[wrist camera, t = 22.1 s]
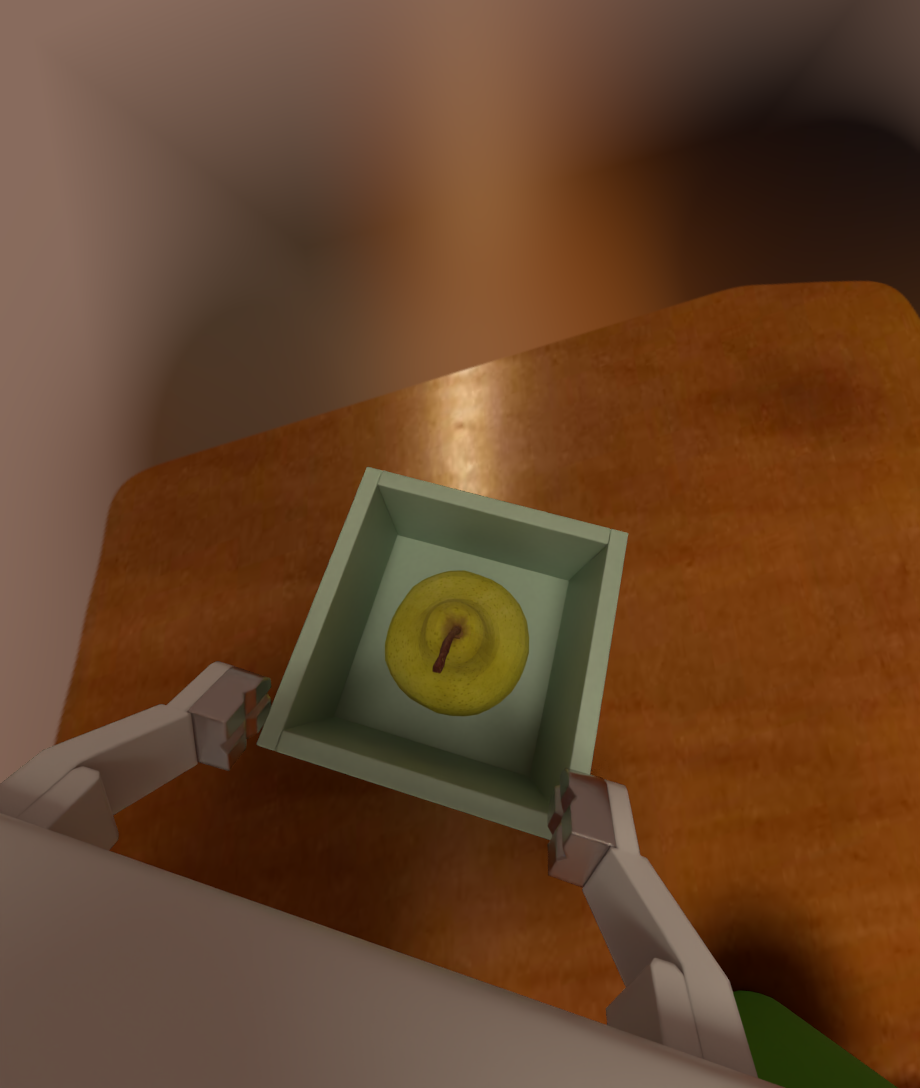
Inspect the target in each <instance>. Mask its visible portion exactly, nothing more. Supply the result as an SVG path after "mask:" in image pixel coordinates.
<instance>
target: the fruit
mask: <svg viewBox="0 0 920 1088" xmlns="http://www.w3.org/2000/svg"><path fill="white" fill-rule="evenodd" d="M528 655H529V632H528V626H527V620H526V618H525V615H524V613H523V611H522V609H521V607H520V604H519V603H518V602H517V601H516V599H515V598H514V597H513V596H512V594H511V593H510V592H508V591H507V590H506V589H505V588H504V587H503V586H502V585H500V584H498V583H497V582H495V581H493V580H492V579H489V578H486V577H484V576H481V575H478V574H475V573H472V572H468V571H465V570H457V571H447V572H443V573H439V574H436V575H433V576H431V577H428V578H426V579H424V580H422V581H421V582H419V583H418V584H416V585H415V586H413V587H412V589H411V590H410V591H409V593H408V594H407V595H406V597H405V598H404V600H403V601H402V602H401V604H400V605H399V607H398V608H397V610H396V612H395V614H394V616H393V618H392V620H391V623H390V626H389V628H388V632H387V637H386V641H385V661H386V664H387V666H388V669H389V672H390V674H391V676H392V677H393V679H394V680H395V682H396V683H397V685H398V687H399V688H400V689H401V690H402V691H403V692H404V693H405V694H406V695H407V696H408V697H409V698H410V699H412V700H413V701H415V702H417V703H418V704H420V705H422V706H424V707H426V708H428V709H430V710H432V711H434V712H436V713H439V714H444V715H449V716H464V717H465V716H472V715H478V714H480V713H482V712H485V711H487V710H489V709H491V708H492V707H494V706H495V705H497V704H499V703H500V702H501V701H503V700H504V699H505V698H506V697H507V696H508V695H509V694H510V693H511V692H512V691H513V689H514V688H515V686H516V684H517V683H518V681H519V680H520V678H521V675H522V673H523V670H524V668H525V665H526V662H527V658H528Z"/></svg>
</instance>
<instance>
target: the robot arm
mask: <svg viewBox="0 0 920 1088" xmlns="http://www.w3.org/2000/svg"><path fill="white" fill-rule="evenodd" d="M270 688H271V678H268V677H265V676H262V675H259V674H256V673H253V672H250V671H247V670H244V669H241V668H238V667H235V666H232V665H229V664H226V663H222V662H219V661H217V662H214V663H212V664H210V665H209V666H208V667H207V668H206V669H205V670H204V671H203V672H202V673H201V674H200V675H198V676H197V677H196V678H195V679H194V680H193V681H192V682H191V683H190V684H189V685H188V686H187V687H186V688H185V689H183V690H182V691H181V692H180V693H179V694H178V695H177V696H176V697H175V698H174V699H173V700H172V701H171V702H169V703H168V704H167V705H163V704H160V705H157V706H155V707H152V708H149V709H147V710H144V711H142V712H139V713H137V714H134V715H131V716H129V717H126V718H124V719H121V720H119V721H116V722H114V723H111V724H108V725H106V726H103V727H101V728H98V729H96V730H93V731H91V732H88V733H85V734H83V735H80V736H78V737H75V738H73V739H70V740H68V741H65V742H62V743H60V744H57V745H55V746H52V747H50V748H47V749H45V750H43V751H41V752H40V753H39V754H37V755H36V756H35V757H34V758H32V759H31V760H30V761H29V762H27V763H26V764H25V765H24V766H22V767H21V768H20V769H18V770H17V771H16V772H15V773H13V774H12V775H11V776H10V777H8V778H7V779H6V780H4V781H3V782H2V783H1V784H0V1088H785V1087H782V1086H779V1085H776V1084H773V1083H771V1082H768V1081H765V1080H762V1079H759V1078H758V1076H757V1072H756V1069H755V1065H754V1062H753V1059H752V1055H751V1052H750V1049H749V1045H748V1042H747V1038H746V1035H745V1032H744V1028H743V1025H742V1021H741V1018H740V1015H739V1011H738V1008H737V1005H736V1001H735V998H734V994H733V991H732V988H731V984H730V981H729V979H728V978H727V976H726V975H725V973H724V972H723V970H722V969H721V967H720V966H719V964H718V963H717V962H716V960H715V959H714V957H713V956H712V954H711V953H710V951H709V950H708V948H707V947H706V945H705V944H704V942H703V941H702V939H701V938H700V936H699V935H698V933H697V932H696V930H695V929H694V927H693V926H692V924H691V923H690V922H689V920H688V919H687V917H686V916H685V914H684V913H683V911H682V910H681V908H680V907H679V905H678V904H677V902H676V901H675V899H674V898H673V896H672V895H671V893H670V892H669V890H668V889H667V887H666V886H665V885H664V883H663V882H662V880H661V879H660V877H659V876H658V874H657V873H656V871H655V870H654V868H653V867H652V865H651V864H650V862H649V861H648V859H647V858H645V857H643V856H640V852H639V846H638V841H637V836H636V831H635V826H634V821H633V816H632V811H631V806H630V801H629V796H628V791H627V789H626V787H625V785H622V784H618V783H615V782H612V781H608V780H605V779H603V778H600V777H597V776H593V775H590V774H586V773H583V772H579V771H576V770H572V769H569V768H565V769H564V770H563V771H562V773H561V775H560V785H557V786H555V787H554V789H553V791H552V794H551V796H550V801H549V805H548V816H547V826H548V828H549V830H550V832H551V833H552V835H553V836H552V838H551V840H550V842H549V843H548V875H549V876H552V877H555V878H557V879H560V880H563V881H566V882H569V883H571V884H574V885H577V886H580V887H583V889H582V890H583V893H584V895H585V897H586V899H587V902H588V904H589V906H590V908H591V910H592V913H593V915H594V917H595V919H596V922H597V924H598V926H599V928H600V931H601V933H602V935H603V937H604V940H605V942H606V944H607V946H608V948H609V951H610V953H611V955H612V957H613V960H614V962H615V964H616V966H617V969H618V971H619V973H620V975H621V977H622V980H623V982H624V984H625V986H626V988H625V989H624V990H623V991H622V992H621V993H620V994H619V995H618V996H617V997H616V999H615V1000H614V1001H613V1002H612V1003H611V1004H610V1005H609V1006H608V1007H607V1008H606V1016H607V1025H605V1024H602V1023H599V1022H597V1021H594V1020H591V1019H588V1018H585V1017H582V1016H580V1015H577V1014H574V1013H571V1012H568V1011H565V1010H562V1009H560V1008H557V1007H554V1006H551V1005H548V1004H545V1003H542V1002H540V1001H537V1000H534V999H531V998H528V997H525V996H523V995H520V994H517V993H514V992H511V991H508V990H505V989H503V988H500V987H497V986H494V985H491V984H488V983H485V982H483V981H480V980H477V979H474V978H471V977H468V976H465V975H463V974H460V973H457V972H454V971H451V970H448V969H446V968H443V967H440V966H437V965H434V964H431V963H428V962H426V961H423V960H420V959H417V958H414V957H411V956H408V955H406V954H403V953H400V952H397V951H394V950H391V949H388V948H386V947H383V946H380V945H377V944H374V943H371V942H368V941H366V940H363V939H360V938H357V937H354V936H351V935H349V934H346V933H343V932H340V931H337V930H334V929H331V928H329V927H326V926H323V925H320V924H317V923H314V922H311V921H309V920H306V919H303V918H300V917H297V916H294V915H291V914H289V913H286V912H283V911H280V910H277V909H274V908H272V907H269V906H266V905H263V904H260V903H257V902H254V901H252V900H249V899H246V898H243V897H240V896H237V895H234V894H232V893H229V892H226V891H223V890H220V889H217V888H214V887H212V886H209V885H206V884H203V883H200V882H197V881H194V880H192V879H189V878H186V877H183V876H180V875H177V874H174V873H172V872H169V871H166V870H163V869H160V868H157V867H154V866H152V865H149V864H146V863H143V862H140V861H137V860H134V859H132V858H129V857H126V856H123V855H120V854H117V853H114V852H112V851H109V850H110V849H111V848H112V846H113V845H114V844H115V843H116V842H117V840H118V834H119V833H118V829H117V826H116V823H115V820H114V817H113V815H114V814H116V813H118V812H119V811H121V810H123V809H124V808H126V807H128V806H129V805H131V804H133V803H134V802H136V801H138V800H139V799H141V798H143V797H144V796H146V795H147V794H149V793H151V792H152V791H154V790H156V789H157V788H159V787H161V786H162V785H164V784H166V783H167V782H169V781H171V780H172V779H174V778H176V777H177V776H179V775H180V774H182V773H184V772H185V771H187V770H189V769H190V768H192V767H194V766H195V765H197V764H198V762H200V763H203V764H207V765H210V766H213V767H217V768H220V769H224V770H227V771H230V769H231V768H232V767H233V765H234V764H235V763H236V761H237V760H238V759H239V757H240V756H241V755H242V753H243V752H244V751H245V749H246V739H248V738H250V737H252V736H254V735H256V734H257V733H258V732H259V731H260V729H261V728H262V727H263V725H264V723H265V721H266V719H267V717H268V715H269V712H270V708H271V698H270V697H269V695H268V694H267V692H268V691H269V689H270Z"/></svg>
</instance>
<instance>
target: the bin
mask: <svg viewBox="0 0 920 1088" xmlns="http://www.w3.org/2000/svg"><path fill="white" fill-rule="evenodd" d="M627 538H628V533H625V532H621V531H618V530H614V529H611V530H610V528H606V527H602V526H598V525H594V524H590V523H586V522H582V521H578V520H574V519H570V518H567V517H563V516H559V515H555V514H551V513H547V512H543V511H539V510H535V509H531V508H527V507H524V506H520V505H516V504H512V503H508V502H504V501H500V500H496V499H492V498H488V497H484V496H481V495H477V494H473V493H469V492H465V491H461V490H457V489H453V488H449V487H445V486H441V485H438V484H434V483H430V482H426V481H422V480H418V479H414V478H410V477H406V476H402V475H398V474H395V473H391V472H387V471H382V470H378V469H374V468H371V467H367V468H366V471H365V473H364V476H363V478H362V481H361V483H360V486H359V488H358V491H357V493H356V496H355V498H354V501H353V503H352V506H351V508H350V511H349V513H348V516H347V518H346V521H345V523H344V526H343V528H342V531H341V533H340V536H339V538H338V541H337V543H336V546H335V548H334V551H333V553H332V556H331V558H330V561H329V563H328V566H327V569H326V571H325V574H324V576H323V579H322V581H321V584H320V586H319V589H318V591H317V594H316V596H315V599H314V601H313V604H312V606H311V609H310V611H309V614H308V616H307V619H306V621H305V624H304V626H303V629H302V631H301V634H300V636H299V639H298V641H297V644H296V646H295V649H294V651H293V654H292V656H291V659H290V661H289V664H288V666H287V669H286V671H285V674H284V676H283V679H282V681H281V684H280V686H279V689H278V691H277V694H276V696H275V699H274V701H273V704H272V706H271V709H270V712H269V715H268V717H267V719H266V721H265V724H264V726H263V729H262V731H261V734H260V736H259V739H258V741H257V745H258V746H261V747H264V748H267V749H270V750H273V751H274V750H276V751H277V752H279V753H282V754H285V755H289V756H292V757H295V758H298V759H301V760H304V761H307V762H310V763H313V764H316V765H319V766H323V767H326V768H329V769H332V770H335V771H338V772H341V773H344V774H347V775H350V776H353V777H357V778H360V779H363V780H366V781H369V782H372V783H375V784H378V785H381V786H384V787H388V788H391V789H394V790H397V791H400V792H403V793H406V794H409V795H412V796H415V797H418V798H422V799H425V800H428V801H431V802H434V803H437V804H440V805H443V806H446V807H449V808H452V809H456V810H459V811H462V812H465V813H468V814H471V815H474V816H477V817H480V818H483V819H487V820H490V821H493V822H496V823H499V824H502V825H505V826H508V827H511V828H514V829H517V830H521V831H524V832H527V833H530V834H533V835H536V836H539V837H542V838H545V839H548V840H551V838H552V836H553V835H552V833H551V832H550V830H549V828H548V826H547V816H548V805H549V801H550V796H551V794H552V791H553V789H554V787H555V786H557V785H560V775H561V773H562V771H563V770H564V769H565V768H569V769H572V770H576V771H579V772H583V773H586V774H590V771H591V765H592V759H593V752H594V746H595V740H596V733H597V727H598V721H599V715H600V708H601V702H602V696H603V689H604V683H605V677H606V670H607V664H608V658H609V651H610V645H611V639H612V633H613V626H614V620H615V614H616V607H617V601H618V595H619V588H620V582H621V576H622V569H623V563H624V557H625V551H626V544H627ZM457 570H465V571H468V572H472V573H475V574H478V575H481V576H484V577H486V578H489V579H492V580H493V581H495V582H497V583H498V584H500V585H502V586H503V587H504V588H505V589H506V590H507V591H508V592H510V593H511V594H512V596H513V597H514V598H515V599H516V601H517V602H518V603H519V604H520V607H521V609H522V611H523V613H524V615H525V618H526V620H527V626H528V632H529V655H528V658H527V662H526V665H525V668H524V670H523V673H522V675H521V678H520V680H519V681H518V683H517V684H516V686H515V688H514V689H513V691H512V692H511V693H510V694H509V695H508V696H507V697H506V698H505V699H504V700H503V701H501V702H500V703H499V704H497V705H495V706H494V707H492V708H491V709H489V710H487V711H485V712H482V713H480V714H478V715H472V716H465V717H464V716H449V715H444V714H439V713H436V712H434V711H432V710H430V709H428V708H426V707H424V706H422V705H420V704H418V703H417V702H415V701H413V700H412V699H410V698H409V697H408V696H407V695H406V694H405V693H404V692H403V691H402V690H401V689H400V688H399V687H398V685H397V683H396V682H395V680H394V679H393V677H392V676H391V674H390V672H389V669H388V666H387V664H386V661H385V641H386V637H387V632H388V628H389V626H390V623H391V620H392V618H393V616H394V614H395V612H396V610H397V608H398V607H399V605H400V604H401V602H402V601H403V600H404V598H405V597H406V595H407V594H408V593H409V591H410V590H411V589H412V587H413V586H415V585H416V584H418V583H419V582H421V581H422V580H424V579H426V578H428V577H431V576H433V575H436V574H439V573H443V572H447V571H457Z"/></svg>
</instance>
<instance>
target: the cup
mask: <svg viewBox="0 0 920 1088" xmlns="http://www.w3.org/2000/svg"><path fill="white" fill-rule="evenodd" d="M733 994H734V998H735V1001H736V1005H737V1008H738V1011H739V1015H740V1018H741V1021H742V1025H743V1028H744V1032H745V1035H746V1038H747V1042H748V1045H749V1049H750V1052H751V1055H752V1059H753V1062H754V1065H755V1069H756V1072H757V1076H758V1078H759V1079H762V1080H765V1081H768V1082H771V1083H773V1084H776V1085H779V1086H782V1087H785V1088H897V1087H896V1086H894V1085H893V1084H892V1083H890V1082H889V1081H887V1080H886V1079H885V1078H883V1077H882V1076H880V1075H879V1074H878V1073H876V1072H875V1071H874V1070H872V1069H871V1068H869V1067H868V1066H867V1065H865V1064H864V1063H862V1062H861V1061H860V1060H858V1059H857V1058H855V1057H854V1056H853V1055H851V1054H850V1053H849V1052H847V1051H846V1050H844V1049H843V1048H842V1047H840V1046H839V1045H837V1044H836V1043H835V1042H833V1041H832V1040H830V1039H829V1038H828V1037H826V1036H825V1035H824V1034H822V1033H821V1032H819V1031H818V1030H817V1029H815V1028H814V1027H812V1026H811V1025H810V1024H808V1023H807V1022H805V1021H804V1020H803V1019H801V1018H800V1017H798V1016H797V1015H796V1014H794V1013H793V1012H792V1011H790V1010H789V1009H787V1008H786V1007H785V1006H783V1005H782V1004H780V1003H779V1002H777V1001H776V1000H774V999H773V998H771V997H768V996H765V995H763V994H760V993H754V992H751V991H735V992H733Z"/></svg>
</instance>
